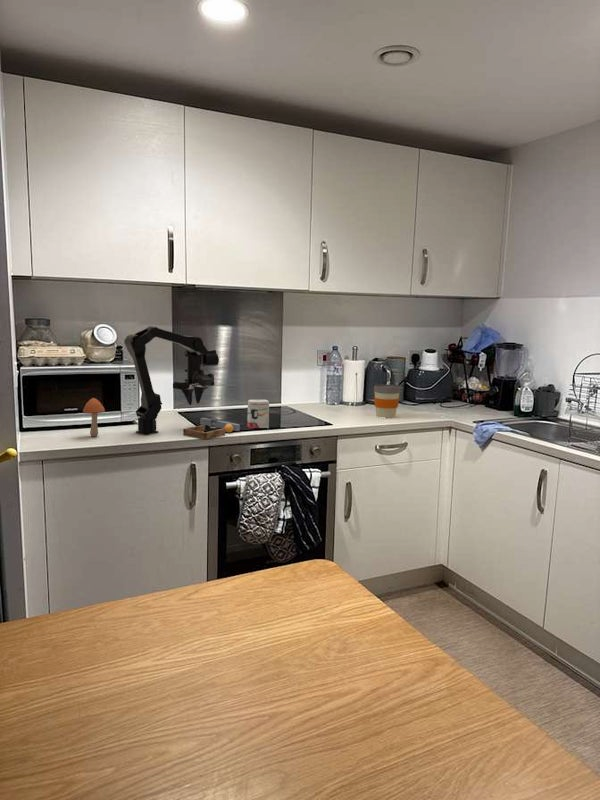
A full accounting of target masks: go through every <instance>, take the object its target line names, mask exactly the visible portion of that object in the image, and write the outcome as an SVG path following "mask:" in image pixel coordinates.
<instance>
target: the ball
mask: <svg viewBox="0 0 600 800" xmlns="http://www.w3.org/2000/svg"><path fill="white" fill-rule="evenodd" d="M224 429H225V433H229V434H230V433H232V432H233V426H232V425H231V424H227V425H225V427H224Z"/></svg>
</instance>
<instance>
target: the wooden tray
mask: <svg viewBox="0 0 600 800" xmlns="http://www.w3.org/2000/svg"><path fill="white" fill-rule="evenodd" d="M225 435H226V431H225V429H223V428H218V429H215V430H212V431H211V430H210V431H207V432H206V425H202V424H200V425H196V426H195V425H194V426H192V427H187V428H183V436H185V437H186V436H187V437H189V438H190V437H192V438H195V439H200V440H210V439H213V438H218V437H223V436H225Z"/></svg>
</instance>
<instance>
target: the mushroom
mask: <svg viewBox="0 0 600 800" xmlns="http://www.w3.org/2000/svg"><path fill="white" fill-rule="evenodd" d="M105 411H106V409H105V407H104V406H103V404H102V403H101V401H100V400H98V399H97V398H95V397H92V398H91V399H89V400H88V401H87V402H86V404H85V406H84V407H83V410H82V412H83V413H84V414H91V425H90V430H89V431H90V432H89V434H90V437H92V436H96V437H98V436H99V428H98V414H101V413H104V412H105ZM97 435H98V436H97Z"/></svg>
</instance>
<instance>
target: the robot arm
mask: <svg viewBox="0 0 600 800" xmlns="http://www.w3.org/2000/svg"><path fill="white" fill-rule="evenodd" d="M155 338H157V339H161V340H164V341H167V342H171V343H175V344H178V345H179V346H180V347H182V348H185V349H186V350H185V351H184V352H183V353H181V356H182V357H186V368H185V369H184V372H186V378H185V379H184V380H176V381H173V383H172V389H176V390H181V392H182V393H183V395H184V398H185V399H186V400H187V403H188V405H189V406H190V405H192V403H193V392H194V395H195V396H194V397H195V401H196V404H197V405H198V404H200V402H201V399H202V395H203V393H204V391H206V389H209V387H213V386H215V375H214V374H213V373H208V374H205V371H204V369H202V366H203V367H217V366H218V365H219V364H220V363H219V362H220V358H219V355H218V353H217V350H216V349H210V350H209V349H207V348H206V346H205V345H204V341H203V339H202V338H201V337H199V336H191V335H183V334H179V333H176V332H174V331H169V330H166V329H163V328H160V327H157V326H155V325H153V326H152V325H149V326H148V327H146V328H144V329H142V330H140V331H138V332H136V333H134V334H129V335H127V336H126V337H125V339H124V346H125V348H126V349H127V352H128V353H129V355H130V356H131V358H132V361H133V365H134V368H135V372H136V376H137V379H138V384H139V387H140V391H141V394H140V406H139V407H138V408H137V409H136V411H135V415H136V417H137V430H136V431H135V433H136V434H139V435H146V436H148V435H152V434H157V433H159V430H157V420H156V419H157V418H158V415H159V413H160V412H161V410H162V405H163V403H162V399H161V395H160V394H159V393H156V392H155V391H154V388H153V383H152V380H151V377H150V372H149V368H148V365H147V359H146V350H147V349H146V348H147V347H146V345H147V344H148V343H150V342H151V341H152V340H153V339H155Z"/></svg>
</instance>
